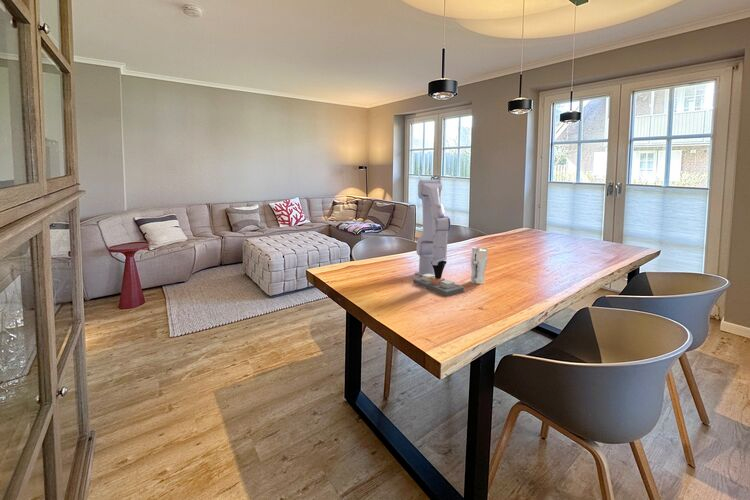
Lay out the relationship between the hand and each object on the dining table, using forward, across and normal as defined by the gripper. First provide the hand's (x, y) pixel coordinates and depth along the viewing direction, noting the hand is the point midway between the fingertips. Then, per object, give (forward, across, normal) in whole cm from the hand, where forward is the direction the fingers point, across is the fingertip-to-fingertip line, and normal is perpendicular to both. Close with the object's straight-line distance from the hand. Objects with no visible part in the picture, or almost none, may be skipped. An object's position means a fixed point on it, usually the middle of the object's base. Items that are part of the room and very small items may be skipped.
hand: (438, 278), depth 156 cm
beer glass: (+4, -16, +14) cm, 21 cm away
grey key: (+3, +3, +5) cm, 6 cm away
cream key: (+3, -3, -5) cm, 6 cm away
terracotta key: (+3, 0, 0) cm, 3 cm away
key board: (+4, 0, 0) cm, 4 cm away
